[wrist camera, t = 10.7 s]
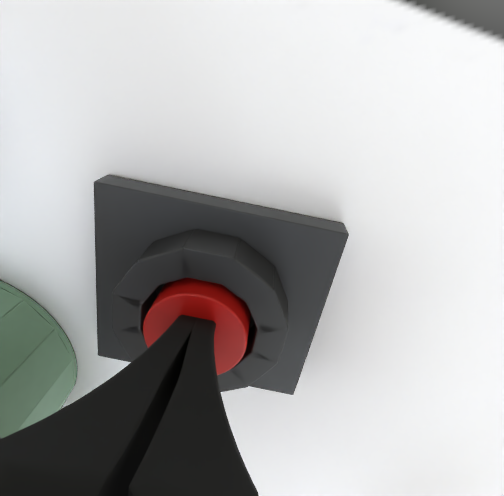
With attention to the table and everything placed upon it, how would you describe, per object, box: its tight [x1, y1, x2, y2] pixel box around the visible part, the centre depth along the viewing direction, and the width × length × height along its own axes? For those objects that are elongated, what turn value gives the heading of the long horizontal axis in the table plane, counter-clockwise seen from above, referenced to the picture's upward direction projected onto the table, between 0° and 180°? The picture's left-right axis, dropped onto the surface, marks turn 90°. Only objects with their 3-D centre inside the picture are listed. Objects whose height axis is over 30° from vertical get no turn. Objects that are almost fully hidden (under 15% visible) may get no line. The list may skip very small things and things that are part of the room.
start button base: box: [94, 175, 349, 395], centre depth 14 cm, size 9×10×3 cm
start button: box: [143, 277, 251, 375], centre depth 13 cm, size 4×4×2 cm
